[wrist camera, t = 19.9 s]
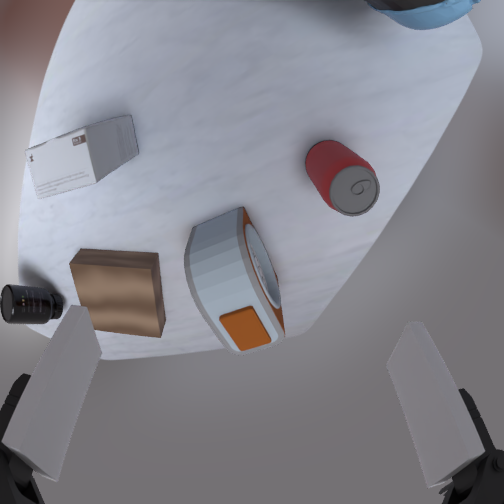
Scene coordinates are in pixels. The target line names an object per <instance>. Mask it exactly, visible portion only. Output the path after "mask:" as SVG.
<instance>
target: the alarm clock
mask: <svg viewBox="0 0 504 504" xmlns="http://www.w3.org/2000/svg"><path fill="white" fill-rule="evenodd" d="M184 268H185V273H186V279H187V283H188V286H189V289H190V292H191V295H192V297H193V299H194V302H195V304H196V306H197V308H198V310H199V311H200V313H201V315H202V316H203V318H204V319H205V321H206V322H207V323H208V325H209V326H210V328H211V329H212V330H213V332H214V333H215V335H216V336H217V337H218V339H219V340H220V342H221V343H222V344H223V346H224V347H225V348H226V349H227V351H229V352H230V353H232V354H235V355H245V354H249V353H253V352H256V351H259V350H263V349H266V348H270V347H273V346H276V345H278V344H279V343H281V342H282V341H283V339H284V337H285V329H284V322H283V315H282V307H281V297H280V291H279V286H278V279H277V275H276V273H275V271H274V269H273V267H272V264H271V262H270V259H269V257H268V254H267V252H266V249H265V247H264V245H263V243H262V241H261V239H260V237H259V235H258V234H257V232H256V230H255V229H254V227H253V225H252V223H251V221H250V219H249V217H248V215H247V213H246V211H245V209H244V207H240V208H238V209H235V210H233V211H230V212H228V213H226V214H223V215H221V216H218V217H216V218H214V219H211V220H209V221H207V222H204V223H202V224H200V225H197V226H195V227H193V229H192V232H191V234H190V237H189V240H188V243H187V246H186V249H185V255H184Z"/></svg>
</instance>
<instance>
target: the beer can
mask: <svg viewBox="0 0 504 504" xmlns="http://www.w3.org/2000/svg"><path fill="white" fill-rule="evenodd" d="M305 163H306V171H307V173H308V175H309V177H310V179H311V180H312V182H313V184H314V185H315V187H316V188H317V190H318V192H319V193H320V195H321V196H322V198H323V200H324V201H325V202H326V203H327V204H328V206H329V207H331V208H332V209H334V210H336V211H338V212H340V213H342V214H343V215H347V216H359V215H362V214H364V213H366V212H368V211H369V210H370V209H371V208H372V207H373V206H374V204H375V203H376V202H377V199H378V196H379V193H380V185H379V182H378V179H377V177H376V174H375V171H374V169H373V168H372V167H371V165H370V164H369V163H368V162H367V161H365V160H364V159H363V158H361V157H360V156H358V155H357V154H356V153H354V152H353V151H351V150H350V149H348V148H347V147H345V146H344V145H342V144H341V143H339V142H336V141H332V140H329V141H322V142H320V143H318V144H316V145H315V146H314V147H313V148H312V149H311V150H310V151H309V153H308V155H307V158H306V162H305Z"/></svg>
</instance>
